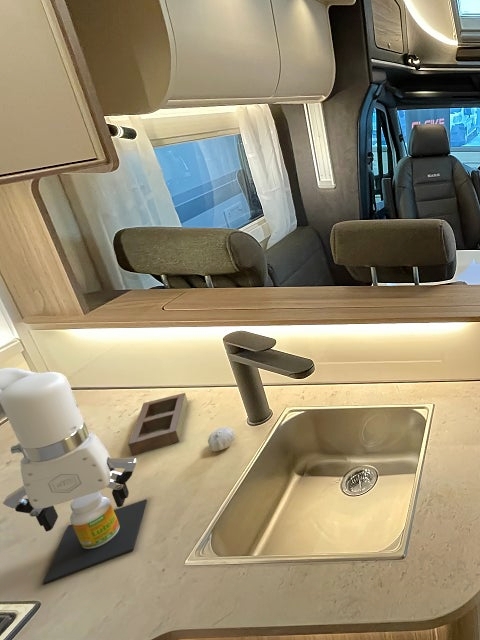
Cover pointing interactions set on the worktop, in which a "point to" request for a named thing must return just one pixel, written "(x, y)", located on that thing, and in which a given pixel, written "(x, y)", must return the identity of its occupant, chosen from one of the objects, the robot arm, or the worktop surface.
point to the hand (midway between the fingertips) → (88, 512)
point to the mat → (79, 558)
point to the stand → (159, 424)
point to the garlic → (221, 439)
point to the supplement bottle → (93, 520)
